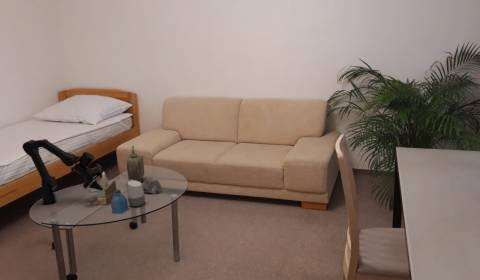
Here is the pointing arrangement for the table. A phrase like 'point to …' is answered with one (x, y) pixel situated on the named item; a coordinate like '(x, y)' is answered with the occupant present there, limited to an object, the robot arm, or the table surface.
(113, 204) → the perfume bottle
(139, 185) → the smart speaker
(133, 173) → the green spouted canister
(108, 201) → the cleat board
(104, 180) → the cabinet block
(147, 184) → the mineral rock
